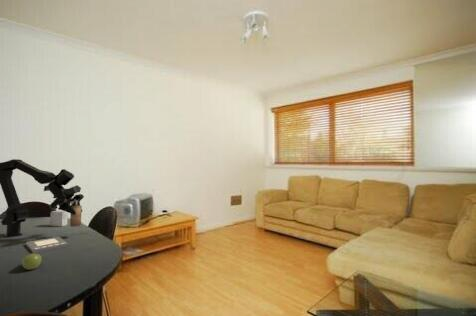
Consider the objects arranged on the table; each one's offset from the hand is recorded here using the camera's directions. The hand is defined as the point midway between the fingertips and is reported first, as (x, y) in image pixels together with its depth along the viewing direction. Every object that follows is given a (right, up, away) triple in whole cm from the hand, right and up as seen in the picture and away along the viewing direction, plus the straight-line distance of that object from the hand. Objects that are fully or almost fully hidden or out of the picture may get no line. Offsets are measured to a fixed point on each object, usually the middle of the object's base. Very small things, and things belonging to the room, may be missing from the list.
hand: (78, 212), depth 134 cm
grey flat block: (-6, -12, -15) cm, 20 cm away
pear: (+7, -12, -39) cm, 41 cm away
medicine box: (-26, -13, +23) cm, 37 cm away
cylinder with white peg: (-1, -7, 0) cm, 7 cm away
